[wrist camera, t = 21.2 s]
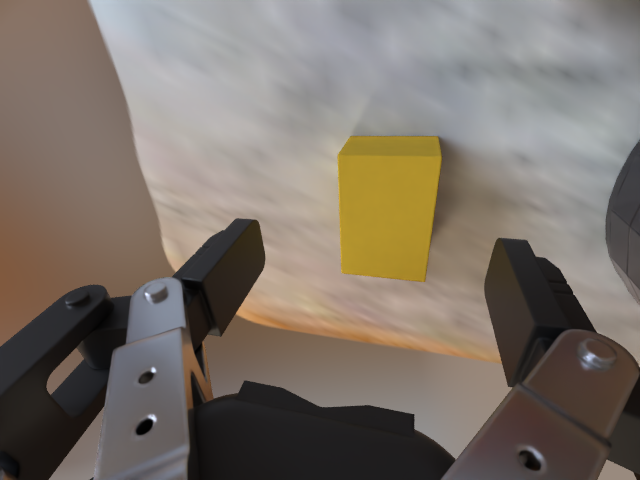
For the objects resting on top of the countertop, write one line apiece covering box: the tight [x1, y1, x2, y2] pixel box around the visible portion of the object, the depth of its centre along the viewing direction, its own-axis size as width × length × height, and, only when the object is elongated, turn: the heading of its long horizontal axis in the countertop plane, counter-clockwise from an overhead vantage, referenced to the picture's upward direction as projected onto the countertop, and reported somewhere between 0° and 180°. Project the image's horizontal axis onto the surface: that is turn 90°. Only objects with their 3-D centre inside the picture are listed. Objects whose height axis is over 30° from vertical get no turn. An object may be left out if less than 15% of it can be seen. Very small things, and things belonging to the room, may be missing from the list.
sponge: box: [338, 136, 442, 282], centre depth 15 cm, size 6×4×3 cm, turn 4°
